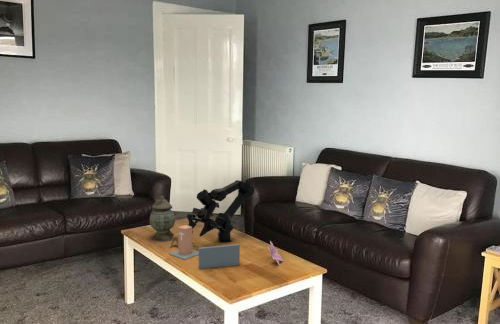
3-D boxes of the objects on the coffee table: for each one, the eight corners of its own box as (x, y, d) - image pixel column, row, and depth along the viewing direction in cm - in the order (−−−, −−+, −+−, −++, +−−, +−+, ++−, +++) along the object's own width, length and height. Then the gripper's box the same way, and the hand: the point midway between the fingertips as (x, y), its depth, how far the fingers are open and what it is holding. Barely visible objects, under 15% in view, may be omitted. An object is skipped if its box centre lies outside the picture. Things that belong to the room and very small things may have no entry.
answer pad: (186, 248, 246) (186, 247, 246) (201, 253, 239) (201, 252, 239) (168, 254, 237) (168, 253, 237) (184, 260, 230) (184, 258, 229)
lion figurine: (189, 240, 259) (189, 225, 258) (195, 243, 255) (195, 227, 254) (168, 246, 249) (167, 230, 247) (173, 249, 245) (173, 233, 244)
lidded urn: (170, 242, 256) (169, 199, 252) (146, 240, 258) (145, 197, 255) (179, 235, 269) (178, 193, 265) (156, 233, 272) (155, 192, 268)
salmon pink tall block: (185, 250, 241) (185, 224, 239) (192, 252, 238) (192, 226, 236) (178, 253, 237) (177, 227, 235) (184, 255, 234) (184, 229, 232)
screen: (238, 263, 226) (238, 244, 224) (239, 264, 224) (239, 245, 223) (198, 267, 220) (198, 247, 218) (199, 268, 218) (199, 248, 217)
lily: (269, 271, 220) (279, 254, 218) (253, 255, 226) (263, 240, 225) (282, 271, 229) (292, 255, 227) (266, 256, 236) (276, 241, 234)
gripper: (188, 199, 248) (173, 223, 242) (213, 204, 237) (198, 230, 230) (199, 210, 256) (184, 233, 249) (223, 216, 244) (209, 241, 237)
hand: (193, 234), depth 241 cm, fingers open, 9 cm apart
